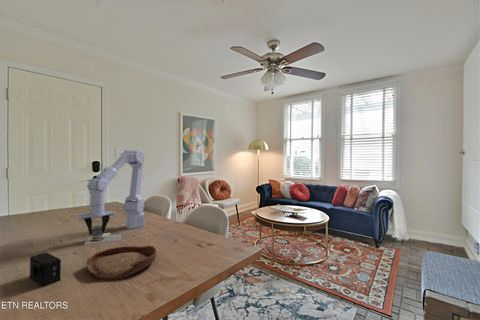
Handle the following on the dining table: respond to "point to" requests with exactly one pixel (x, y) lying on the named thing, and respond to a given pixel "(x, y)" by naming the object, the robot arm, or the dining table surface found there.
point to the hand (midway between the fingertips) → (96, 233)
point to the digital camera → (45, 269)
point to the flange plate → (104, 239)
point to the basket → (120, 261)
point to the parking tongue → (106, 234)
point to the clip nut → (96, 232)
